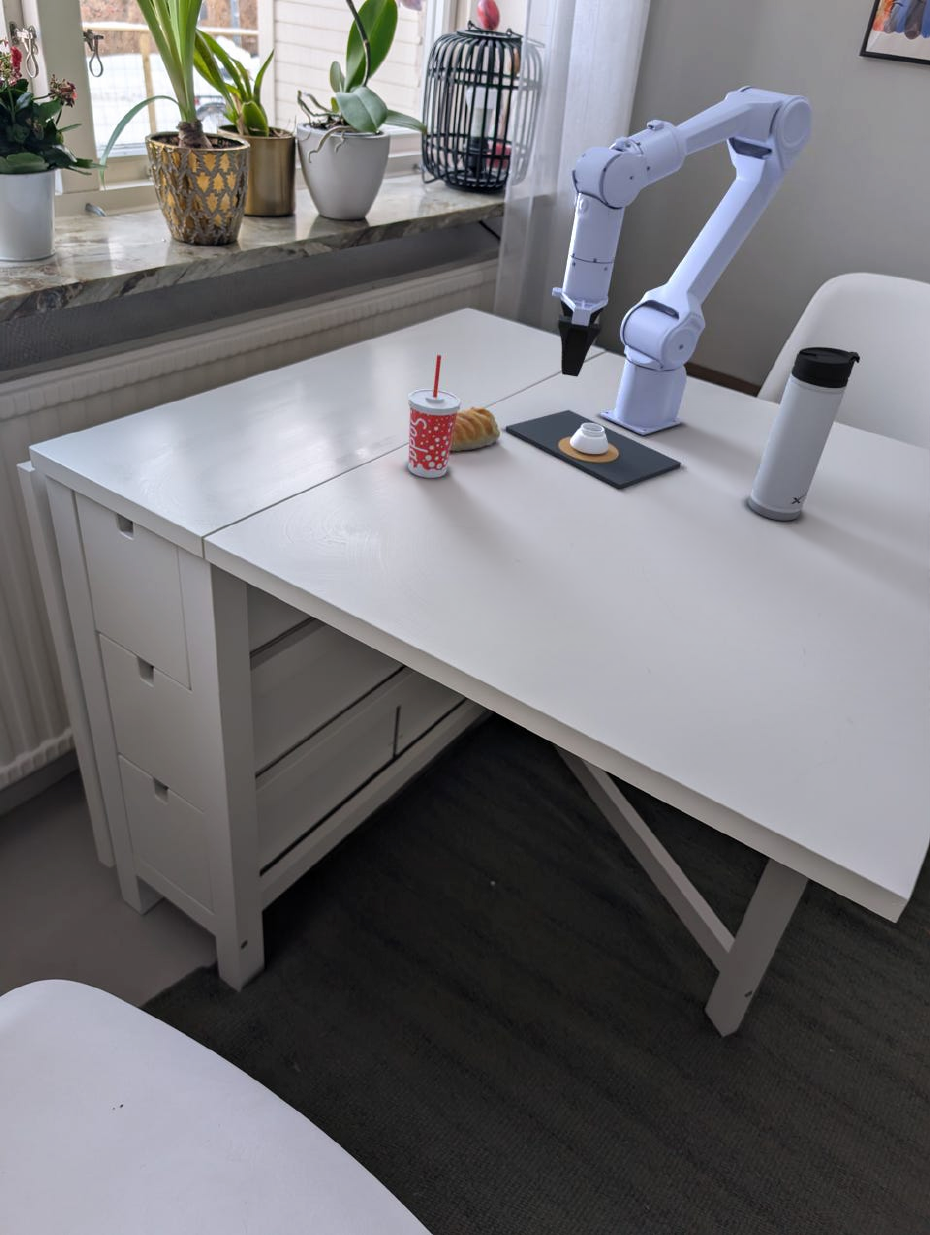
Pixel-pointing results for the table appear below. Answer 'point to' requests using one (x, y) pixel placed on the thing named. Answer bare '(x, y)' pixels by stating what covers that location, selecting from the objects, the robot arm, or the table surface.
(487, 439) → the pastry
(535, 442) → the mat
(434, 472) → the beverage cup
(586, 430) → the lidless jar
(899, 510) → the table surface
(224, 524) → the table surface
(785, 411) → the travel mug
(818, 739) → the table surface
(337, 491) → the table surface
